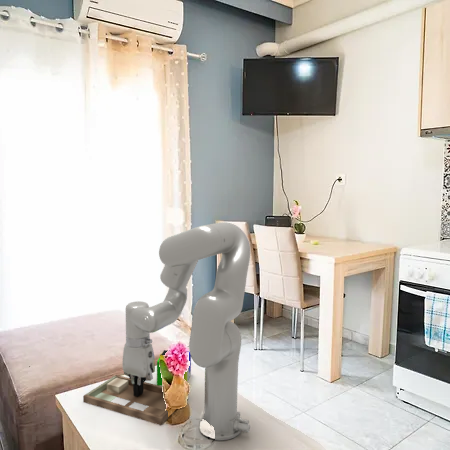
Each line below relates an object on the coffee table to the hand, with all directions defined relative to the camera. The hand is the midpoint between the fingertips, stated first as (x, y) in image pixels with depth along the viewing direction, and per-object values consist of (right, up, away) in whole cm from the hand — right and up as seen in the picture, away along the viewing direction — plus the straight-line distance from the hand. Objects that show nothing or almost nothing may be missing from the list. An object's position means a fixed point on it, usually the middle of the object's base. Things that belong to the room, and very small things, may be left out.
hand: (138, 394), depth 133 cm
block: (-8, 0, +4) cm, 9 cm away
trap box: (0, -2, -3) cm, 4 cm away
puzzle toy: (+10, -1, +11) cm, 15 cm away
